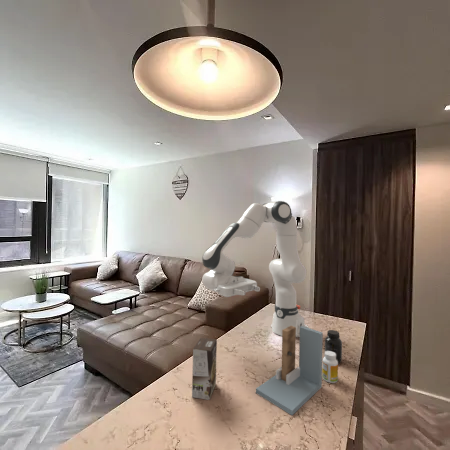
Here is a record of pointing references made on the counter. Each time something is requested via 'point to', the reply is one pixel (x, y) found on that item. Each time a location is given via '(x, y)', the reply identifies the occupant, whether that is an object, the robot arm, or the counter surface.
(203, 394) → the coffee box
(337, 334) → the supplement bottle
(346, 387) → the counter surface
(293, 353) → the door panel
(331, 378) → the supplement bottle
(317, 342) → the blue-grey l-shaped stand
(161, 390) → the counter surface
